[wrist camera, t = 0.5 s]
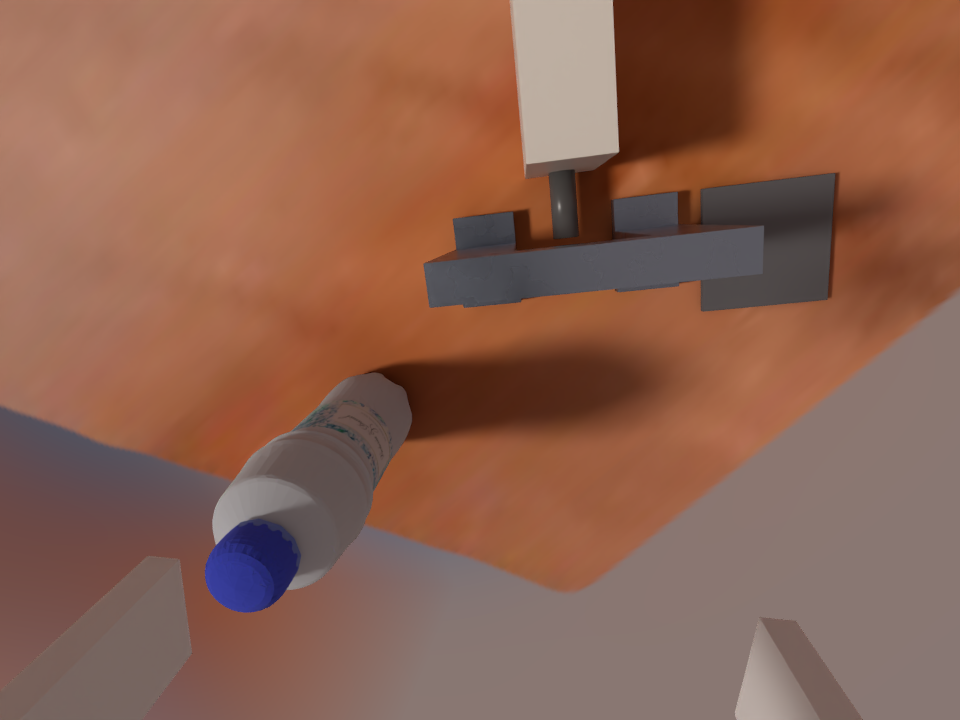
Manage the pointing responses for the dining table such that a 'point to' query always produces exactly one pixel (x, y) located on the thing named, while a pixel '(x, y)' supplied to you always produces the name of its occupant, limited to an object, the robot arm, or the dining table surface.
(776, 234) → the mat
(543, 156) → the white block
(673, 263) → the blue-grey arch stand
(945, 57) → the dining table surface
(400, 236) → the dining table surface
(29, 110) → the dining table surface
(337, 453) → the bottle
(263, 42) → the dining table surface
